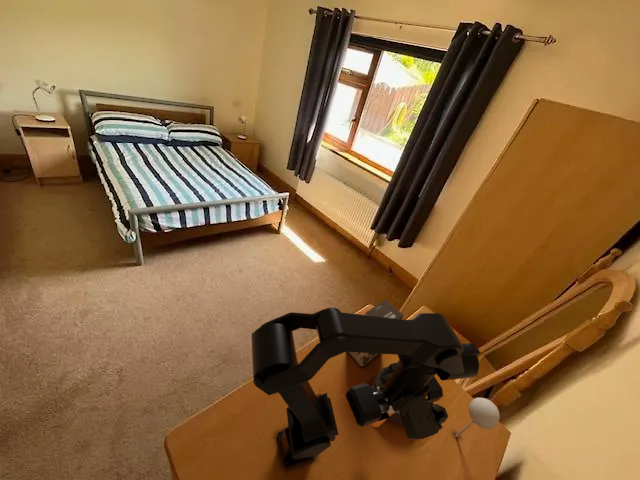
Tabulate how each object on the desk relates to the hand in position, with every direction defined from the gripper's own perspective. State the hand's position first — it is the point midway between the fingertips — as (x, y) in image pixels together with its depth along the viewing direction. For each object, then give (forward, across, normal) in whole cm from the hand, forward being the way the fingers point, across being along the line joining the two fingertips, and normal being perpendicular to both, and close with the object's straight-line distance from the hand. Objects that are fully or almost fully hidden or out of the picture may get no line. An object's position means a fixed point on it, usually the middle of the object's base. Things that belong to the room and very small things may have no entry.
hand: (380, 413), depth 62 cm
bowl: (+11, +12, +5) cm, 17 cm away
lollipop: (+11, +23, -6) cm, 26 cm away
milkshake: (+3, 0, 0) cm, 3 cm away
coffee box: (+11, +10, +19) cm, 25 cm away
